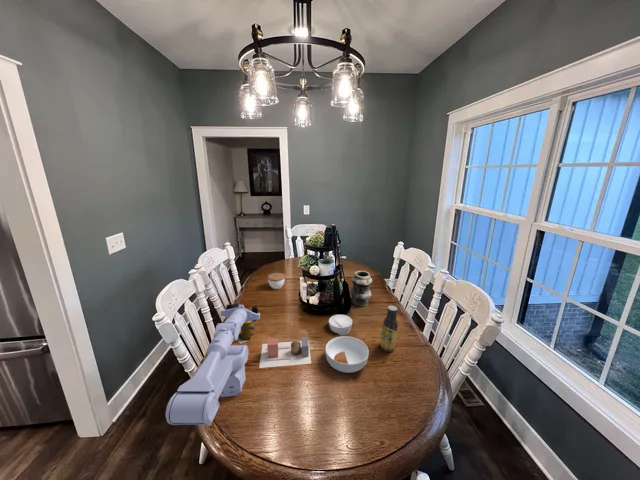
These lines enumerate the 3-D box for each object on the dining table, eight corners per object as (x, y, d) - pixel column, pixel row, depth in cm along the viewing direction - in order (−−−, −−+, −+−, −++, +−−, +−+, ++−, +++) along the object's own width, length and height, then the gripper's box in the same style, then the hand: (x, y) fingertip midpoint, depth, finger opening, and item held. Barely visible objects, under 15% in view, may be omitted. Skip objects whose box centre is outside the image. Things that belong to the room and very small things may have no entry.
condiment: (258, 337, 118) (256, 314, 115) (239, 344, 114) (237, 320, 110) (252, 329, 124) (251, 307, 121) (235, 335, 120) (232, 312, 116)
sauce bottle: (377, 347, 112) (380, 306, 107) (385, 341, 116) (389, 301, 111) (389, 355, 108) (393, 313, 102) (398, 348, 112) (402, 308, 106)
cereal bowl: (373, 358, 106) (374, 344, 104) (358, 387, 92) (358, 371, 90) (336, 344, 114) (337, 330, 112) (317, 369, 100) (317, 353, 98)
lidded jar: (266, 285, 170) (265, 272, 168) (282, 282, 175) (281, 269, 172) (270, 292, 161) (270, 278, 159) (287, 288, 166) (286, 275, 163)
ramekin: (324, 333, 122) (324, 323, 120) (334, 321, 131) (334, 312, 130) (346, 340, 117) (347, 330, 115) (355, 327, 126) (355, 317, 125)
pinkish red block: (278, 357, 104) (277, 344, 102) (268, 357, 103) (267, 345, 102) (278, 350, 108) (277, 337, 106) (268, 351, 107) (268, 338, 106)
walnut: (301, 355, 105) (300, 347, 104) (291, 356, 105) (291, 347, 104) (300, 348, 109) (300, 340, 108) (291, 349, 108) (290, 341, 107)
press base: (311, 366, 101) (311, 352, 99) (259, 371, 99) (258, 357, 97) (308, 343, 115) (308, 330, 113) (262, 346, 112) (261, 333, 110)
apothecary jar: (371, 308, 143) (373, 278, 139) (349, 306, 145) (350, 277, 140) (370, 297, 155) (372, 270, 150) (350, 296, 157) (351, 268, 152)
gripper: (257, 312, 93) (264, 299, 107) (217, 307, 93) (229, 295, 106) (255, 330, 94) (263, 315, 107) (215, 326, 94) (228, 311, 107)
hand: (246, 306), depth 107 cm, fingers open, 7 cm apart
